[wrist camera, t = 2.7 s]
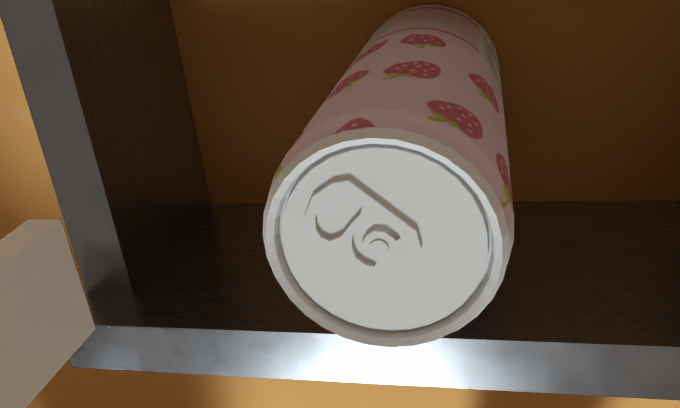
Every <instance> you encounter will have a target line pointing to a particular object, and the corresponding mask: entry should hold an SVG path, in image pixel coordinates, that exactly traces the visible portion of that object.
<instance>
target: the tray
mask: <svg viewBox="0 0 680 408" xmlns="http://www.w3.org/2000/svg"><path fill="white" fill-rule="evenodd" d="M0 17H1V20H2V23H3V26H4V30H5V33H6V36H7V39H8V42H9V46H10V49H11V52H12V55H13V58H14V62H15V65H16V68H17V71H18V74H19V77H20V81H21V84H22V87H23V90H24V93H25V97H26V100H27V103H28V106H29V109H30V113H31V116H32V119H33V122H34V125H35V129H36V132H37V135H38V138H39V141H40V144H41V148H42V151H43V154H44V157H45V160H46V164H47V167H48V170H49V173H50V176H51V180H52V183H53V186H54V189H55V192H56V196H57V199H58V202H59V205H60V208H61V212H62V215H63V218H64V221H65V224H66V227H67V231H68V234H69V237H70V240H71V243H72V247H73V250H74V253H75V256H76V259H77V263H78V266H79V269H80V272H81V275H82V279H83V282H84V285H85V288H86V291H87V294H86V295H85V297H86V300H87V303H88V306H89V310H90V313H91V316H92V319H93V322H94V325H95V328H96V329H95V330H94V331H93V332H92V334H91V335H90V336H89V337H88V338H87V339H86V340H85V341H84V343H83V344H82V345H81V346H80V347H79V348H78V349H77V351H76V352H75V353H74V354H73V355H72V356H71V357H70V362H71V365H72V367H74V368H92V369H110V370H129V371H147V372H166V373H184V374H203V375H221V376H240V377H258V378H277V379H295V380H314V381H332V382H351V383H369V384H388V385H406V386H425V387H443V388H462V389H480V390H499V391H517V392H536V393H554V394H573V395H591V396H610V397H628V398H647V399H665V400H680V201H636V202H513V211H514V241H513V245H512V249H511V253H510V257H509V261H508V264H507V267H506V271H505V275H504V279H503V281H502V283H501V284H500V286H499V288H498V290H497V292H496V294H495V296H494V298H493V299H492V300H491V302H490V303H489V304H488V305H487V306H486V307H485V308H484V309H483V311H482V312H481V313H480V314H479V315H478V316H477V317H476V318H474V319H473V320H471V321H470V322H469V323H467V324H466V325H465V326H463V327H462V328H460V329H459V330H457V331H455V332H453V333H450V334H448V335H446V336H444V337H441V338H439V339H437V340H435V341H431V342H427V343H422V344H418V345H414V346H401V347H384V346H376V345H367V344H363V343H360V342H357V341H353V340H350V339H346V338H343V337H341V336H339V335H337V334H335V333H333V332H331V331H329V330H327V329H325V328H323V327H322V326H320V325H319V324H317V323H316V322H315V321H313V320H312V319H310V318H309V317H308V316H306V315H305V314H304V313H303V312H302V311H301V310H300V309H299V308H298V307H297V306H296V305H295V304H294V303H293V302H292V301H291V300H290V299H289V297H288V296H287V294H286V293H285V291H284V290H283V288H282V287H281V285H280V284H279V282H278V281H277V279H276V278H275V275H274V273H273V271H272V268H271V266H270V263H269V261H268V259H267V256H266V250H265V245H264V240H263V215H264V210H265V206H266V204H236V205H210V200H209V195H208V190H207V185H206V180H205V175H204V170H203V165H202V160H201V156H200V151H199V146H198V141H197V136H196V131H195V126H194V121H193V116H192V111H191V107H190V102H189V97H188V92H187V87H186V82H185V77H184V72H183V67H182V62H181V58H180V53H179V48H178V43H177V38H176V33H175V28H174V23H173V18H172V13H171V9H170V4H169V0H0Z"/></svg>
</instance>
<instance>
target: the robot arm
mask: <svg viewBox="0 0 680 408" xmlns="http://www.w3.org/2000/svg"><path fill="white" fill-rule="evenodd" d="M95 329H96V328H95V325H94V322H93V319H92V316H91V313H90V310H89V306H88V303H87V300H86V297H85V294H84V291H83V288H82V285H81V282H80V279H79V275H78V272H77V269H76V266H75V263H74V260H73V257H72V254H71V251H70V248H69V244H68V241H67V238H66V235H65V232H64V229H63V226H62V223H61V220H60V219H28V220H26V221H25V222H24V223H22V224H21V225H20V226H18V227H17V228H16V229H14V230H13V231H11V232H10V233H9V234H7V235H6V236H5V237H3V238H2V239H0V408H26V407H27V406H28V405H29V404H30V403H31V402H32V401H33V399H34V398H35V397H36V396H37V395H38V394H39V393H40V392H41V390H42V389H43V388H44V387H45V386H46V385H47V384H48V382H49V381H50V380H51V379H52V378H53V377H54V376H55V374H56V373H57V372H58V371H59V370H60V369H61V368H62V366H63V365H64V364H65V363H66V362H67V361H68V360H69V359H70V357H71V356H72V355H73V354H74V353H75V352H76V351H77V349H78V348H79V347H80V346H81V345H82V344H83V343H84V341H85V340H86V339H87V338H88V337H89V336H90V335H91V334H92V332H93V331H94V330H95Z"/></svg>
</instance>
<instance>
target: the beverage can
mask: <svg viewBox="0 0 680 408" xmlns="http://www.w3.org/2000/svg"><path fill="white" fill-rule="evenodd" d="M263 240H264V245H265V250H266V256H267V259H268V261H269V263H270V266H271V268H272V271H273V273H274V275H275V278H276V279H277V281H278V282H279V284H280V285H281V287H282V288H283V290H284V291H285V293H286V294H287V296H288V297H289V299H290V300H291V301H292V302H293V303H294V304H295V305H296V306H297V307H298V308H299V309H300V310H301V311H302V312H303V313H304V314H305V315H306V316H308V317H309V318H310V319H312V320H313V321H315V322H316V323H317V324H319V325H320V326H322V327H323V328H325V329H327V330H329V331H331V332H333V333H335V334H337V335H339V336H341V337H343V338H346V339H350V340H353V341H357V342H360V343H363V344H367V345H376V346H384V347H401V346H414V345H418V344H422V343H427V342H431V341H435V340H437V339H439V338H441V337H444V336H446V335H448V334H450V333H453V332H455V331H457V330H459V329H460V328H462V327H463V326H465V325H466V324H467V323H469V322H470V321H471V320H473V319H474V318H476V317H477V316H478V315H479V314H480V313H481V312H482V311H483V309H484V308H485V307H486V306H487V305H488V304H489V303H490V302H491V300H492V299H493V298H494V296H495V294H496V292H497V290H498V288H499V286H500V284H501V283H502V281H503V279H504V275H505V271H506V267H507V264H508V261H509V257H510V253H511V249H512V245H513V241H514V211H513V200H512V190H511V179H510V169H509V158H508V148H507V137H506V127H505V116H504V106H503V95H502V85H501V74H500V64H499V60H498V55H497V51H496V48H495V46H494V44H493V42H492V40H491V38H490V36H489V35H488V34H487V32H486V31H485V30H484V28H483V27H482V26H481V25H480V24H479V23H478V22H477V21H475V20H474V19H473V18H472V17H470V16H469V15H467V14H465V13H463V12H461V11H459V10H457V9H455V8H451V7H447V6H443V5H420V6H415V7H410V8H407V9H405V10H403V11H401V12H398V13H396V14H395V15H393V16H392V17H390V18H389V19H388V20H386V21H385V22H384V23H383V24H382V25H381V26H380V27H379V28H378V29H377V30H376V31H375V32H374V34H373V35H372V36H371V38H370V39H369V41H368V42H367V43H366V45H365V46H364V47H363V49H362V50H361V52H360V53H359V54H358V56H357V57H356V58H355V60H354V61H353V63H352V64H351V65H350V67H349V68H348V69H347V71H346V72H345V74H344V75H343V76H342V78H341V79H340V80H339V82H338V83H337V85H336V86H335V87H334V89H333V90H332V92H331V93H330V94H329V96H328V97H327V98H326V100H325V101H324V103H323V104H322V105H321V107H320V108H319V109H318V111H317V112H316V114H315V115H314V116H313V118H312V119H311V120H310V122H309V123H308V125H307V126H306V127H305V129H304V130H303V131H302V133H301V134H300V136H299V137H298V138H297V140H296V141H295V143H294V144H293V145H292V147H291V148H290V149H289V151H288V152H287V154H286V155H285V157H284V159H283V160H282V162H281V164H280V166H279V167H278V169H277V171H276V173H275V174H274V177H273V181H272V184H271V188H270V191H269V195H268V199H267V203H266V206H265V210H264V215H263Z"/></svg>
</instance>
